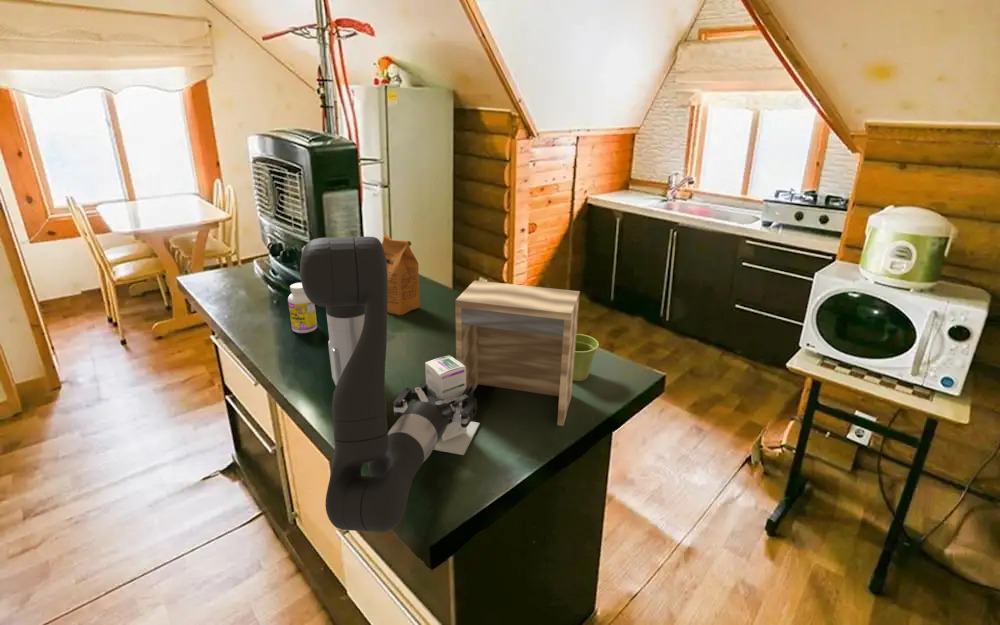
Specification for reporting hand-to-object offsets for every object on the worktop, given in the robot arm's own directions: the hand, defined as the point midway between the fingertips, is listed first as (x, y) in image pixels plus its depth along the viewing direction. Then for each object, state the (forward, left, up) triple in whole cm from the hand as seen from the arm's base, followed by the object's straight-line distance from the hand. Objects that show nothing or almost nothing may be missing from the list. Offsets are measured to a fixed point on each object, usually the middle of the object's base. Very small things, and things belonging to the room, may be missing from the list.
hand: (449, 386), depth 102 cm
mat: (-1, -1, -10) cm, 10 cm away
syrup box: (-1, -2, -9) cm, 9 cm away
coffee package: (+10, +66, -10) cm, 67 cm away
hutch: (+16, +3, -10) cm, 19 cm away
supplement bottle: (-18, +62, -10) cm, 65 cm away
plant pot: (+35, +8, -10) cm, 37 cm away
